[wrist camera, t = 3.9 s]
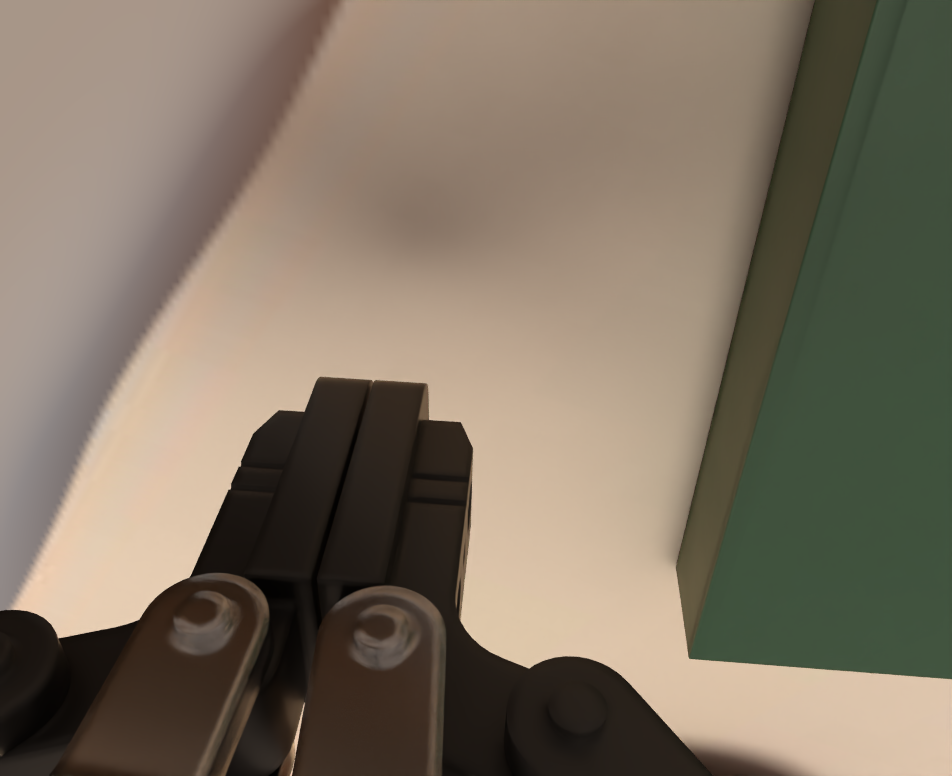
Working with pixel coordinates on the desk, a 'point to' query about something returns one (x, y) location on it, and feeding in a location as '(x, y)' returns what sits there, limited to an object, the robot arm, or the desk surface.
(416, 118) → the desk surface
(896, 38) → the book
